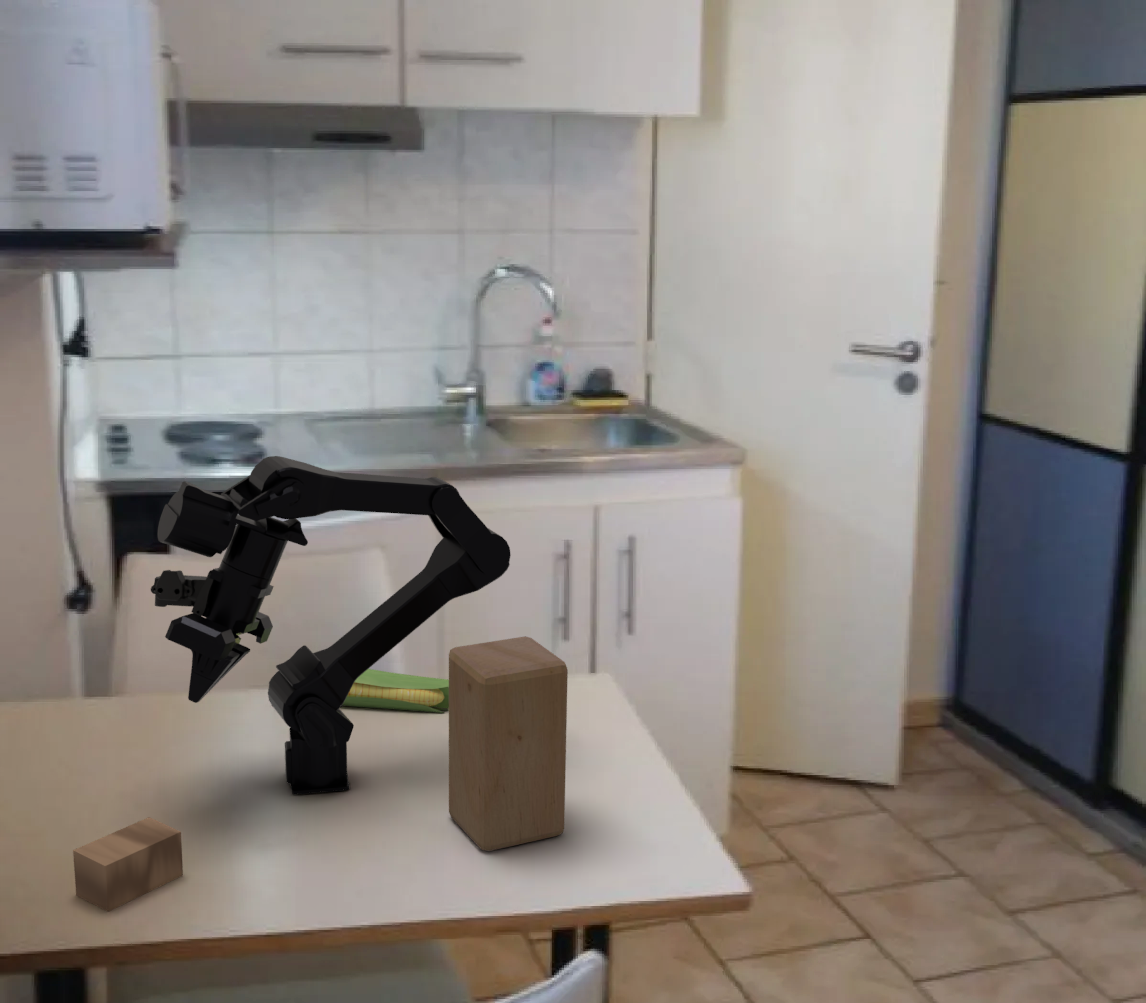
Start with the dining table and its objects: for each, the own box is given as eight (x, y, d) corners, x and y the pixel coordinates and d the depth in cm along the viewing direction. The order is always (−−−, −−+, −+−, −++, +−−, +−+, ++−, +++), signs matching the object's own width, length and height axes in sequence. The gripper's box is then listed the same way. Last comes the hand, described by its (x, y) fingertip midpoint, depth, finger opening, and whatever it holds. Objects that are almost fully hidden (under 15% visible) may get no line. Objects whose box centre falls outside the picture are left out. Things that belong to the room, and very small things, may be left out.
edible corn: (328, 662, 195) (317, 665, 191) (475, 678, 193) (468, 681, 188) (324, 701, 195) (313, 705, 191) (472, 717, 192) (464, 721, 188)
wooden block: (482, 856, 154) (483, 676, 149) (445, 816, 162) (445, 645, 157) (567, 837, 158) (571, 662, 153) (527, 799, 167) (529, 632, 162)
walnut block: (148, 817, 150) (73, 850, 143) (180, 831, 148) (105, 866, 141) (151, 861, 152) (76, 896, 145) (183, 876, 149) (108, 913, 142)
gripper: (207, 536, 170) (156, 660, 170) (149, 544, 151) (92, 683, 152) (295, 574, 169) (244, 699, 170) (247, 587, 150) (190, 727, 151)
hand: (193, 700), depth 161 cm, fingers closed
